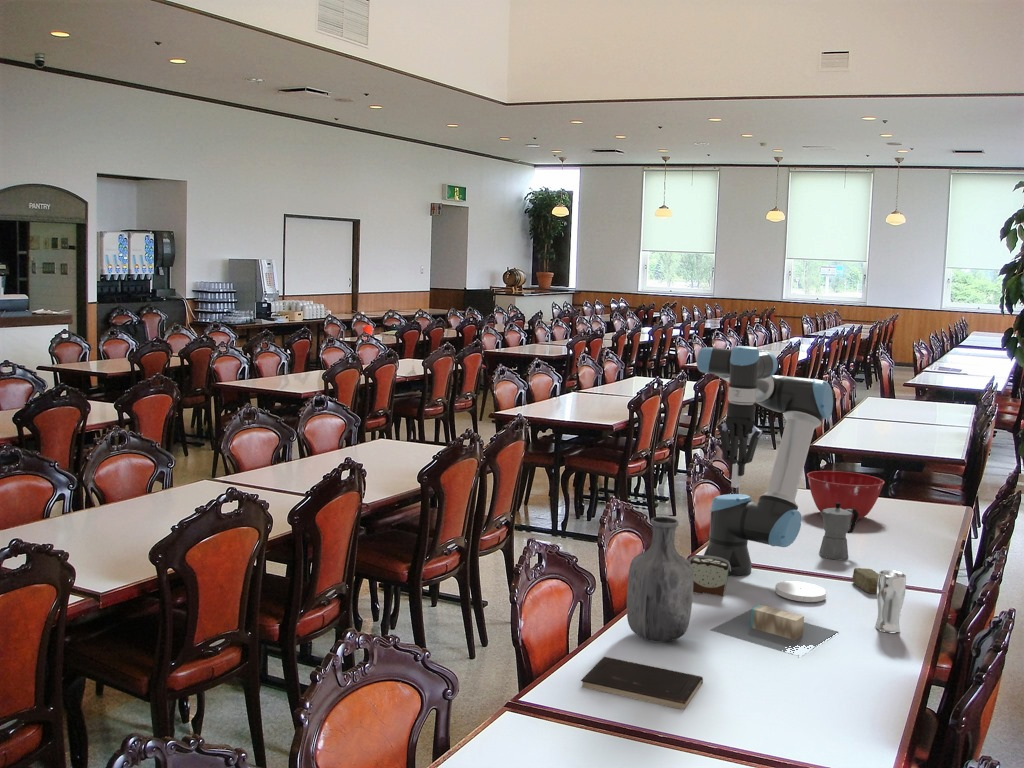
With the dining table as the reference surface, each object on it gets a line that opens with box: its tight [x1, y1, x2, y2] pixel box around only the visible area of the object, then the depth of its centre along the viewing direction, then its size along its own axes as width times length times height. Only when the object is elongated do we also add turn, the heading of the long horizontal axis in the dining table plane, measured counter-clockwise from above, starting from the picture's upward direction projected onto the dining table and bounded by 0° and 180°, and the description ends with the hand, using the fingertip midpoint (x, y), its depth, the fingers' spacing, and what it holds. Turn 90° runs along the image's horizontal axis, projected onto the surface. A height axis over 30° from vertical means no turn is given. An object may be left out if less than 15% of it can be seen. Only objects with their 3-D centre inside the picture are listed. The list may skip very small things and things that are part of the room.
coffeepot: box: [818, 503, 859, 560], centre depth 336 cm, size 15×9×18 cm, turn 113°
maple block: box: [751, 604, 805, 640], centre depth 260 cm, size 5×5×12 cm
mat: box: [710, 608, 839, 653], centre depth 261 cm, size 24×24×1 cm
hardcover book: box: [580, 656, 704, 710], centre depth 224 cm, size 16×23×2 cm
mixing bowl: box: [806, 470, 885, 521], centre depth 393 cm, size 28×28×16 cm
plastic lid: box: [774, 580, 827, 603], centre depth 292 cm, size 14×14×2 cm
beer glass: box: [874, 569, 907, 633], centre depth 267 cm, size 7×7×15 cm
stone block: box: [851, 567, 879, 594], centre depth 303 cm, size 6×12×5 cm, turn 7°
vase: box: [626, 516, 694, 643], centre depth 251 cm, size 16×16×30 cm
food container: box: [688, 554, 731, 597], centre depth 291 cm, size 12×6×10 cm, turn 65°
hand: (735, 486), depth 283 cm, fingers closed
